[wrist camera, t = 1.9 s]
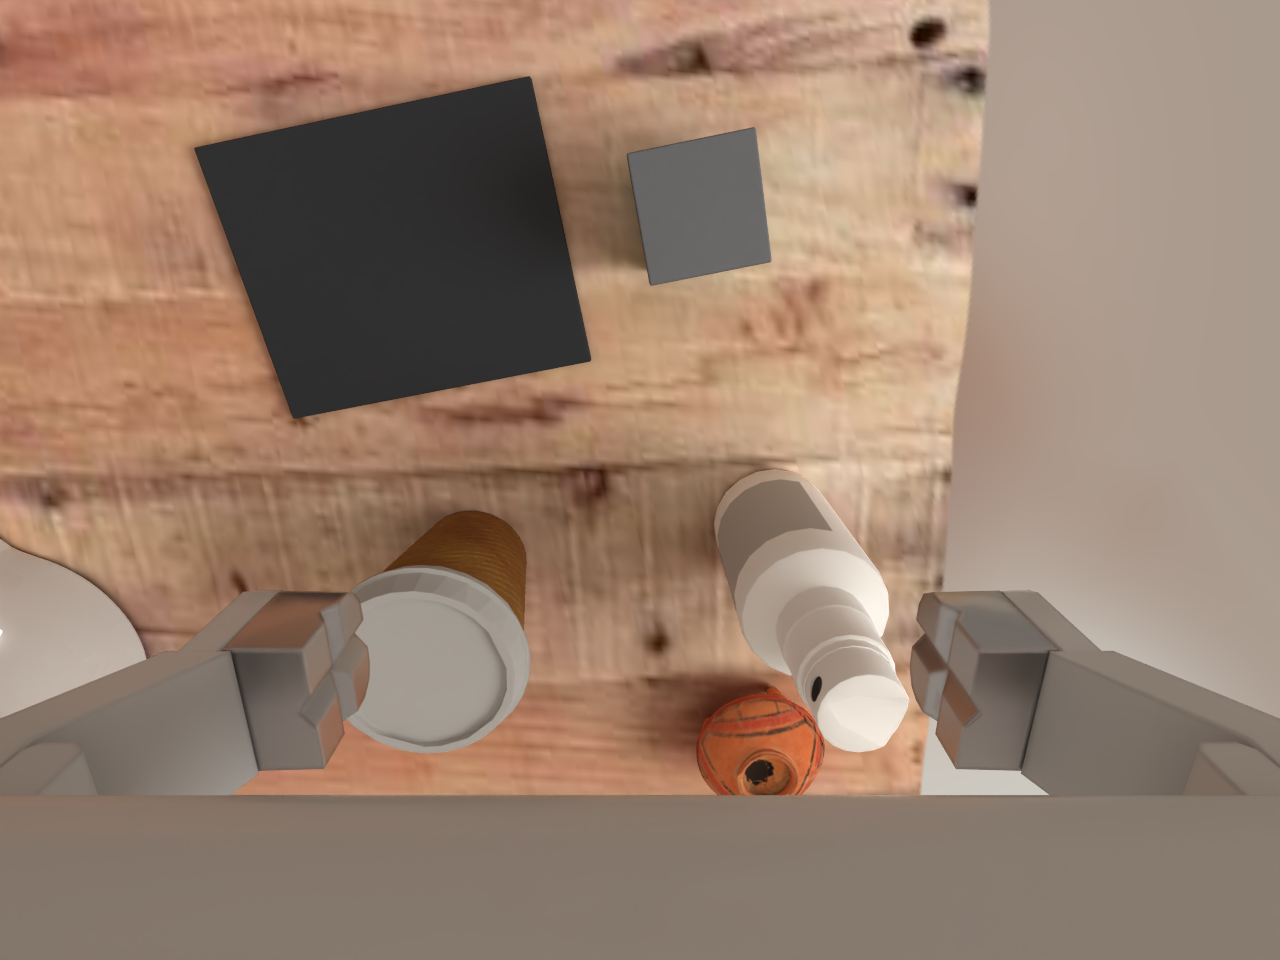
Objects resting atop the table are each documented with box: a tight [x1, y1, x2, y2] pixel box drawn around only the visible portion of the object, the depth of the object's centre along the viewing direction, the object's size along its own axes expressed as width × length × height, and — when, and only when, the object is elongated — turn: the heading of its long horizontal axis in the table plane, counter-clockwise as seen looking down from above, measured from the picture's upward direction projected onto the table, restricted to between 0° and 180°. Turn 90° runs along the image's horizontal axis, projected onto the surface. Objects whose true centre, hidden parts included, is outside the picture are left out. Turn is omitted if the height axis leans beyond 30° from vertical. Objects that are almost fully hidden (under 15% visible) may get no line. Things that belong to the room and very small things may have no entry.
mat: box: [194, 76, 591, 418], centre depth 37 cm, size 17×14×1 cm
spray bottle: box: [714, 469, 909, 752], centre depth 34 cm, size 7×7×18 cm
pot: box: [696, 686, 825, 795], centre depth 44 cm, size 8×8×7 cm
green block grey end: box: [627, 127, 771, 286], centre depth 33 cm, size 5×5×7 cm
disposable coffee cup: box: [347, 511, 530, 753], centre depth 37 cm, size 10×10×12 cm
